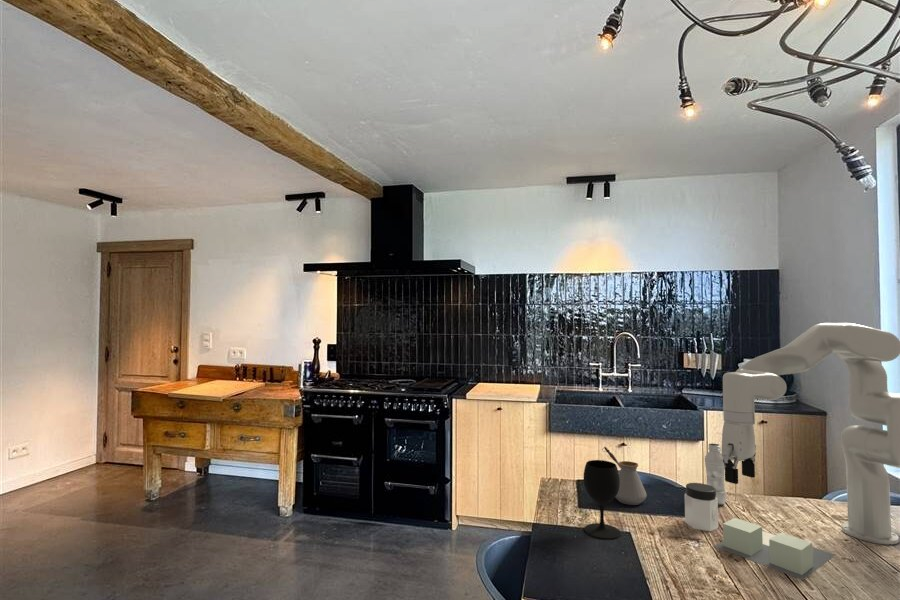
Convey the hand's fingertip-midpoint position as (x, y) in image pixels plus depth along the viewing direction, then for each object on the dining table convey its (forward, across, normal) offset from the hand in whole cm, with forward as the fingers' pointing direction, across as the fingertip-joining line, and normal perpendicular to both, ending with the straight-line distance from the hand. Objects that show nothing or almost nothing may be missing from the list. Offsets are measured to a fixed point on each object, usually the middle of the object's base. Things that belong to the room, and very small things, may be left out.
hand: (740, 479), depth 131 cm
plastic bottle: (+19, -28, -21) cm, 40 cm away
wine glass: (+20, +23, -29) cm, 42 cm away
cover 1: (+18, 0, 0) cm, 18 cm away
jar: (+19, -5, -14) cm, 24 cm away
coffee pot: (+19, -7, -44) cm, 48 cm away
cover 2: (+18, 0, +12) cm, 22 cm away
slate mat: (+19, -5, +6) cm, 21 cm away
